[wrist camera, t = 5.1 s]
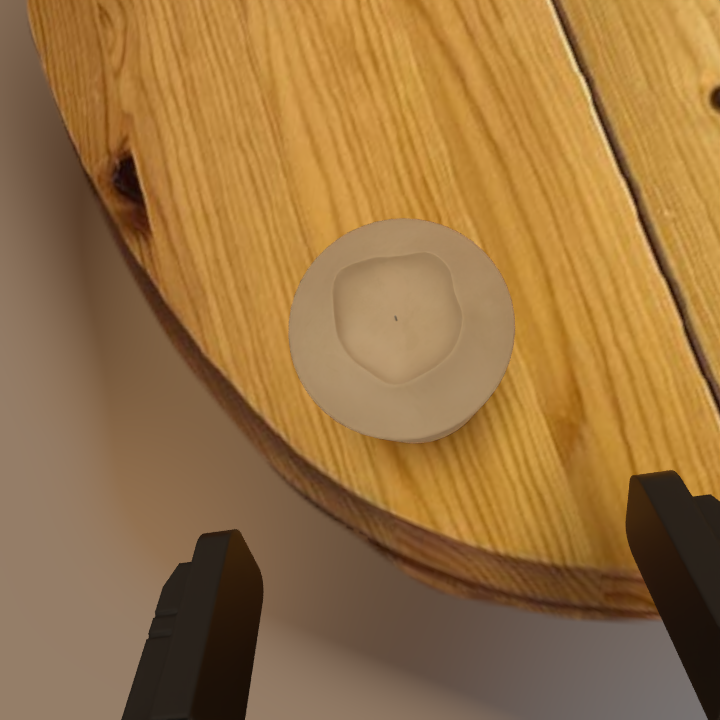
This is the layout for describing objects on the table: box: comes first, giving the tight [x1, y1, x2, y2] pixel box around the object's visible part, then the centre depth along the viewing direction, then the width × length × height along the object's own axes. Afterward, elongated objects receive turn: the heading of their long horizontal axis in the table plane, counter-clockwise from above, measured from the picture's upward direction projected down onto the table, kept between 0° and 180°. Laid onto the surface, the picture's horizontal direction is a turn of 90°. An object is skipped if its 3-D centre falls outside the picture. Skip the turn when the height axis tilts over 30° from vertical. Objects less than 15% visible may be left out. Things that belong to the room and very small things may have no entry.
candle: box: [289, 218, 515, 443], centre depth 17 cm, size 6×6×10 cm
